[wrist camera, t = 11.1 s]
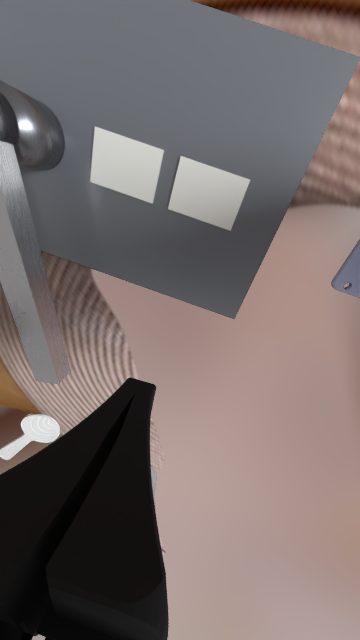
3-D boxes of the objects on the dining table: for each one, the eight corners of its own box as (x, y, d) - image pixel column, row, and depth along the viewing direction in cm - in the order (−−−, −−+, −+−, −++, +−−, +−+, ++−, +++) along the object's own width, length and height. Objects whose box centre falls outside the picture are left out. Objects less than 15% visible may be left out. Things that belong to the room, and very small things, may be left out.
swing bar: (76, 370, 19) (60, 388, 17) (46, 365, 20) (27, 383, 18) (8, 83, 11) (-38, 58, 9) (-41, 86, 11) (-95, 63, 10)
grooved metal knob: (79, 118, 15) (28, 89, 11) (76, 179, 17) (31, 172, 13) (29, 100, 15) (-40, 66, 11) (30, 163, 17) (-28, 152, 13)
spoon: (-11, 445, 39) (-14, 448, 38) (39, 405, 31) (36, 408, 31) (16, 463, 40) (13, 466, 39) (70, 428, 32) (67, 432, 32)
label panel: (346, 72, 12) (363, 54, 11) (233, 311, 19) (234, 320, 18) (13, -39, 13) (-15, -71, 11) (25, 237, 20) (8, 240, 18)
